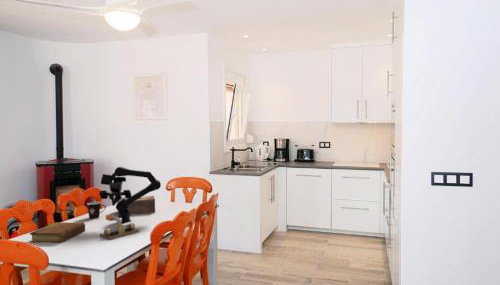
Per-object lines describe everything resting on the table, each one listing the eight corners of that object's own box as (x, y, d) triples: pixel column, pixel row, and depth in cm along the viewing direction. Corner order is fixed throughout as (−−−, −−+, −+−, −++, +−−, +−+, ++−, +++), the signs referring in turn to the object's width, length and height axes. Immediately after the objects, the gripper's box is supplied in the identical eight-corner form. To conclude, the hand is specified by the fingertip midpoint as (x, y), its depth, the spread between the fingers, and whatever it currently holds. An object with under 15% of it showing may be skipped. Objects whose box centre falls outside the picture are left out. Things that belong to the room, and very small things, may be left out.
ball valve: (129, 229, 227) (129, 218, 227) (139, 232, 220) (138, 220, 220) (100, 236, 212) (99, 224, 212) (109, 239, 206) (108, 227, 206)
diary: (62, 244, 202) (62, 233, 202) (30, 243, 204) (29, 233, 203) (85, 231, 225) (84, 222, 224) (56, 231, 226) (55, 222, 226)
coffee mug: (84, 218, 257) (84, 204, 256) (94, 215, 265) (93, 201, 264) (97, 219, 252) (97, 205, 252) (106, 216, 260) (106, 202, 260)
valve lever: (109, 218, 226) (109, 214, 226) (122, 222, 216) (122, 217, 216) (105, 219, 224) (105, 215, 224) (118, 223, 214) (118, 218, 214)
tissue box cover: (154, 208, 286) (153, 195, 286) (155, 212, 272) (154, 199, 272) (118, 211, 279) (118, 198, 278) (117, 215, 265) (117, 201, 264)
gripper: (99, 178, 236) (94, 198, 225) (129, 177, 238) (126, 197, 227) (103, 188, 244) (98, 208, 233) (132, 187, 246) (129, 207, 235)
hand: (113, 205), depth 232 cm, fingers closed
